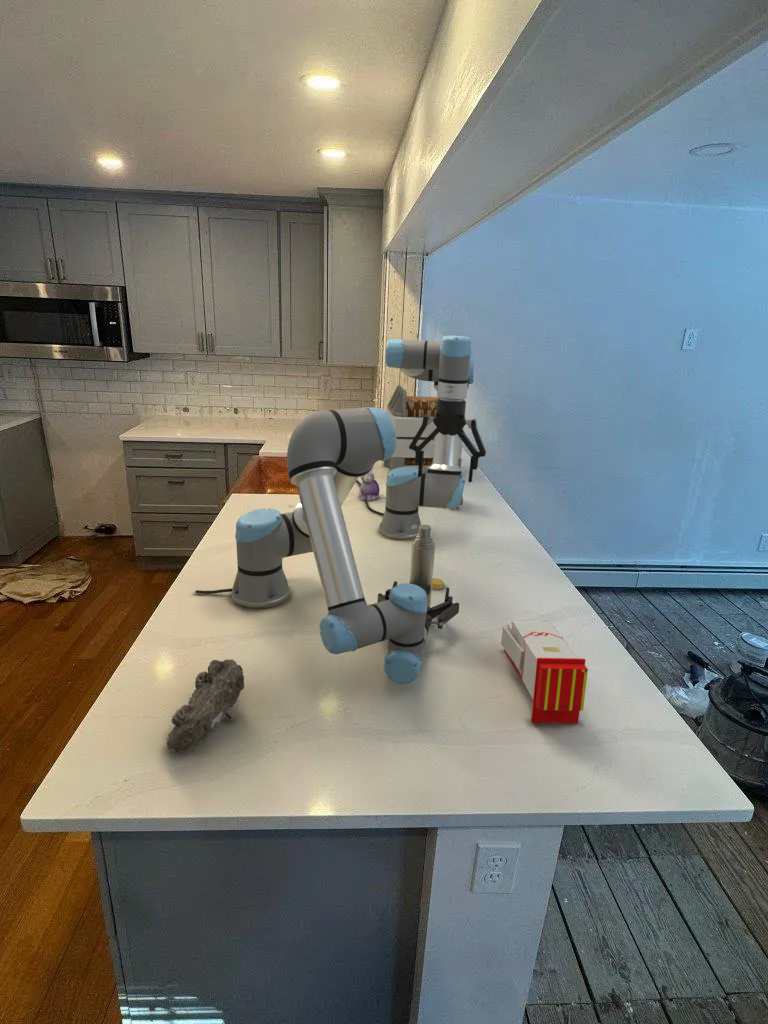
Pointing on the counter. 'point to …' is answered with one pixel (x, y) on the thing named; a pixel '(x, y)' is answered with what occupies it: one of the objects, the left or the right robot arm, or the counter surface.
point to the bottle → (423, 561)
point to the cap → (437, 583)
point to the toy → (547, 670)
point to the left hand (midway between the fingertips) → (421, 588)
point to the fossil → (206, 705)
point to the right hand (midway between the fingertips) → (444, 478)
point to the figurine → (369, 487)
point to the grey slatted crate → (412, 428)
